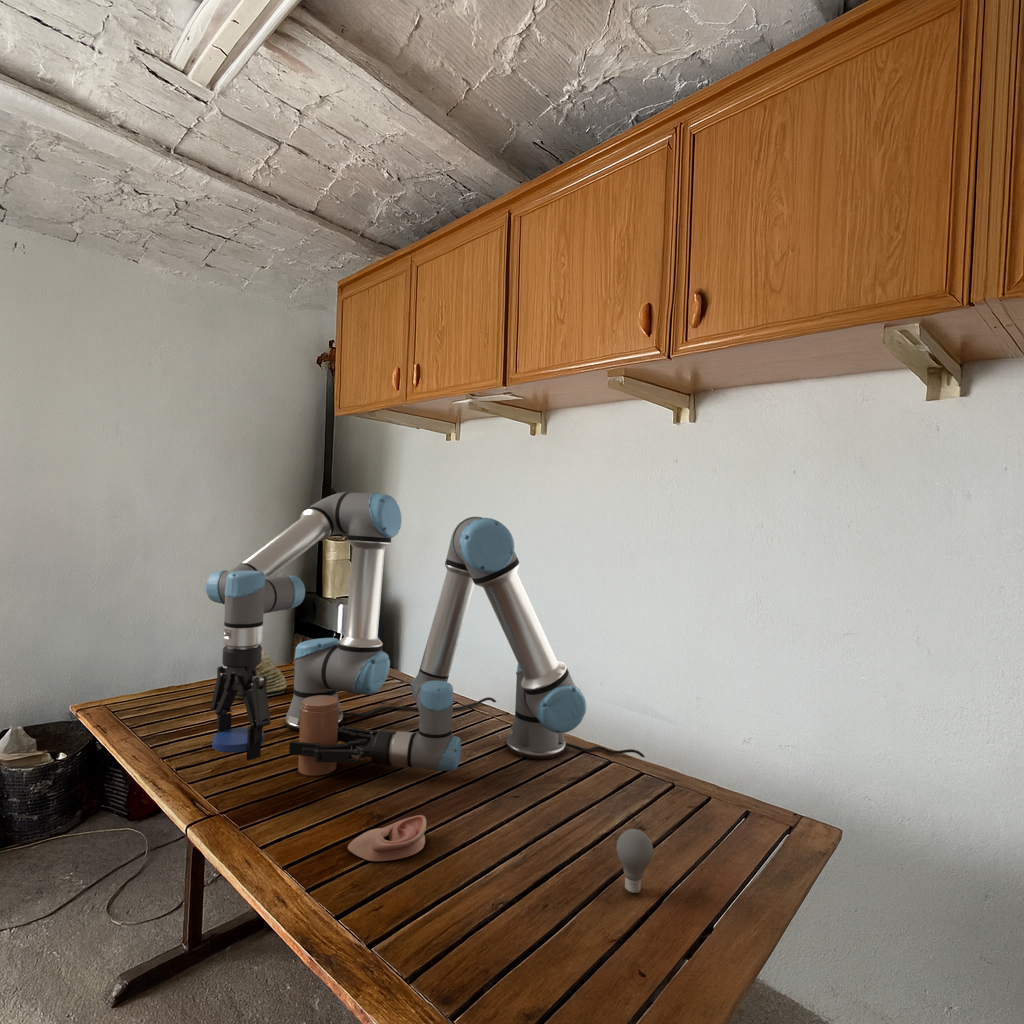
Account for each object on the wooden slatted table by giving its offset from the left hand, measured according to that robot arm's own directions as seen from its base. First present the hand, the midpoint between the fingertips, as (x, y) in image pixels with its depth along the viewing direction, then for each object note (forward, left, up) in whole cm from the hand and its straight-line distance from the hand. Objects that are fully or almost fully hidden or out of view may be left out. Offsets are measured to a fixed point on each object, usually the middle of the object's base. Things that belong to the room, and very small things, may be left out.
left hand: (238, 751), depth 132 cm
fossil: (-37, -59, -9) cm, 70 cm away
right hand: (-17, -4, -3) cm, 18 cm away
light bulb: (-28, +77, -9) cm, 83 cm away
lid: (0, 0, +3) cm, 3 cm away
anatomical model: (-9, +37, -9) cm, 40 cm away
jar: (-20, 0, -9) cm, 22 cm away
